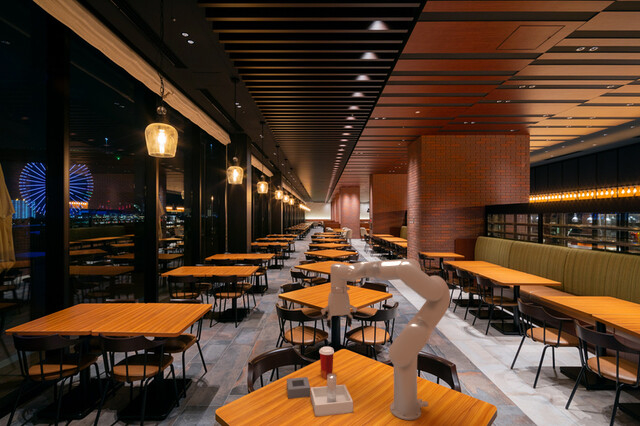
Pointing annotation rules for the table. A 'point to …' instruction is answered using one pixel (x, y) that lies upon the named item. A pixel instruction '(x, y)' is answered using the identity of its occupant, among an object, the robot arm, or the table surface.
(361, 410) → the table surface
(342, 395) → the tray
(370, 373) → the table surface
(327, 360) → the paper cup
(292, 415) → the table surface
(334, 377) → the pin
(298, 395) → the block
